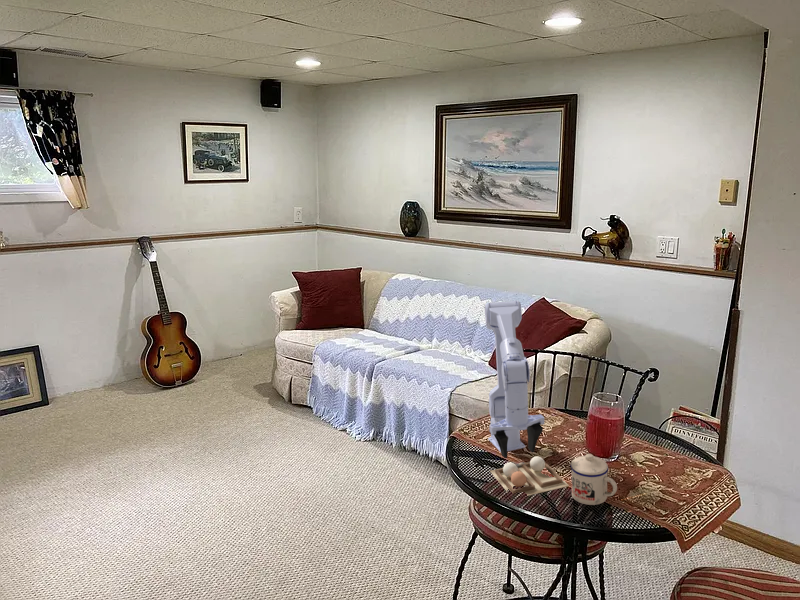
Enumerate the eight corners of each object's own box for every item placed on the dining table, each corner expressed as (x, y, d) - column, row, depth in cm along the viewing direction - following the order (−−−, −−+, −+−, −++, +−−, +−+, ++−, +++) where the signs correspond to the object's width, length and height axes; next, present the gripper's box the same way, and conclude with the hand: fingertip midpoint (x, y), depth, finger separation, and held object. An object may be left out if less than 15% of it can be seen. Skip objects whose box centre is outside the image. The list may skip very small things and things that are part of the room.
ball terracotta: (508, 483, 177) (508, 470, 176) (522, 480, 178) (522, 467, 177) (515, 491, 173) (514, 477, 172) (529, 488, 174) (528, 474, 173)
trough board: (489, 472, 184) (489, 467, 183) (542, 460, 188) (542, 455, 187) (513, 500, 170) (513, 495, 169) (569, 487, 174) (569, 482, 173)
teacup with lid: (563, 497, 169) (563, 456, 166) (583, 482, 175) (583, 442, 172) (606, 515, 161) (606, 472, 158) (625, 499, 167) (626, 457, 164)
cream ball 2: (527, 468, 183) (527, 455, 182) (540, 465, 184) (540, 452, 183) (534, 475, 180) (534, 462, 179) (547, 472, 181) (547, 459, 180)
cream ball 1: (500, 474, 181) (500, 461, 180) (514, 471, 182) (513, 458, 181) (507, 481, 178) (506, 468, 177) (520, 478, 179) (520, 465, 178)
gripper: (496, 416, 164) (498, 466, 167) (549, 406, 167) (550, 454, 171) (485, 405, 170) (487, 453, 174) (536, 395, 174) (537, 442, 177)
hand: (517, 453), depth 173 cm, fingers open, 7 cm apart
